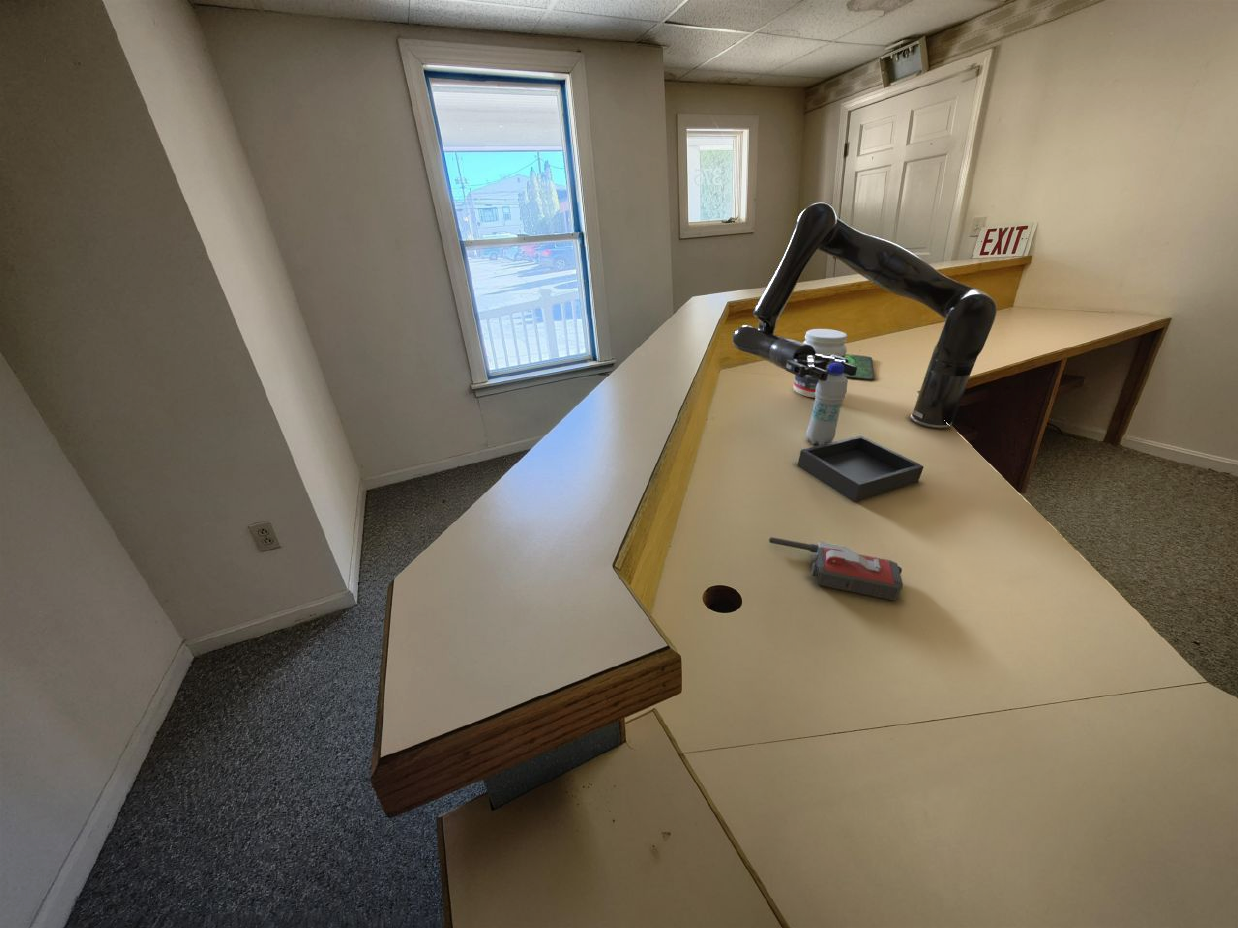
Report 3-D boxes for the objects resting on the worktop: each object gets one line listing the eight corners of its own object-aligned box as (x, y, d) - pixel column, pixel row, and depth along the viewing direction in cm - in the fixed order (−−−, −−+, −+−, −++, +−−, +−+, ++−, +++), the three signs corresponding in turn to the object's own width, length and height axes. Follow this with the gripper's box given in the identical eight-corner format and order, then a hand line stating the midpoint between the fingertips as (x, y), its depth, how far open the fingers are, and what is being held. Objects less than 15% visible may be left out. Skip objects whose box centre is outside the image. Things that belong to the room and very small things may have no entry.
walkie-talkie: (895, 566, 74) (768, 541, 79) (904, 545, 71) (772, 521, 77) (906, 605, 66) (765, 575, 72) (916, 583, 64) (769, 554, 70)
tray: (856, 450, 108) (860, 435, 106) (917, 482, 96) (924, 466, 94) (797, 465, 102) (800, 449, 100) (854, 502, 90) (859, 484, 88)
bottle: (835, 449, 109) (856, 368, 99) (806, 447, 110) (824, 367, 100) (830, 437, 115) (849, 359, 105) (802, 435, 116) (818, 358, 106)
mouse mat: (874, 380, 150) (875, 378, 150) (804, 373, 158) (805, 370, 157) (871, 358, 172) (871, 355, 171) (809, 352, 180) (810, 350, 179)
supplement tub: (795, 383, 149) (805, 326, 140) (837, 388, 145) (851, 330, 135) (789, 396, 139) (800, 336, 130) (834, 402, 135) (849, 340, 125)
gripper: (770, 344, 111) (820, 361, 98) (816, 337, 116) (868, 353, 103) (766, 373, 115) (813, 394, 102) (810, 366, 119) (860, 385, 106)
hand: (841, 374), depth 102 cm, fingers open, 8 cm apart
